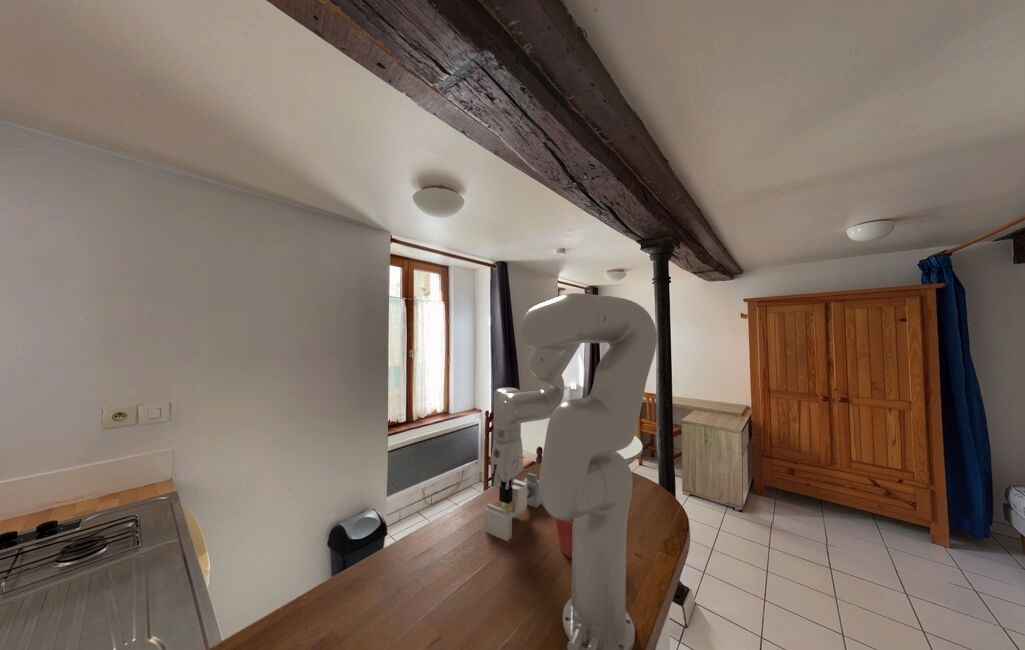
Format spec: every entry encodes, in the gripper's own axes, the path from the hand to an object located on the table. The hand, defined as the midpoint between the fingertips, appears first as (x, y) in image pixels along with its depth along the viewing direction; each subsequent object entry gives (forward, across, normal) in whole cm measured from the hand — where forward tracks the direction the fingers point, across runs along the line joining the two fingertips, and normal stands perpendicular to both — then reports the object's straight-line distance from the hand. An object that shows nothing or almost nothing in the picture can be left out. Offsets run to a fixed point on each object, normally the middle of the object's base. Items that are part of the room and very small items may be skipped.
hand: (505, 501), depth 86 cm
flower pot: (+7, +2, -19) cm, 21 cm away
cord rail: (+7, +7, 0) cm, 10 cm away
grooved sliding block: (+5, +5, 0) cm, 7 cm away
